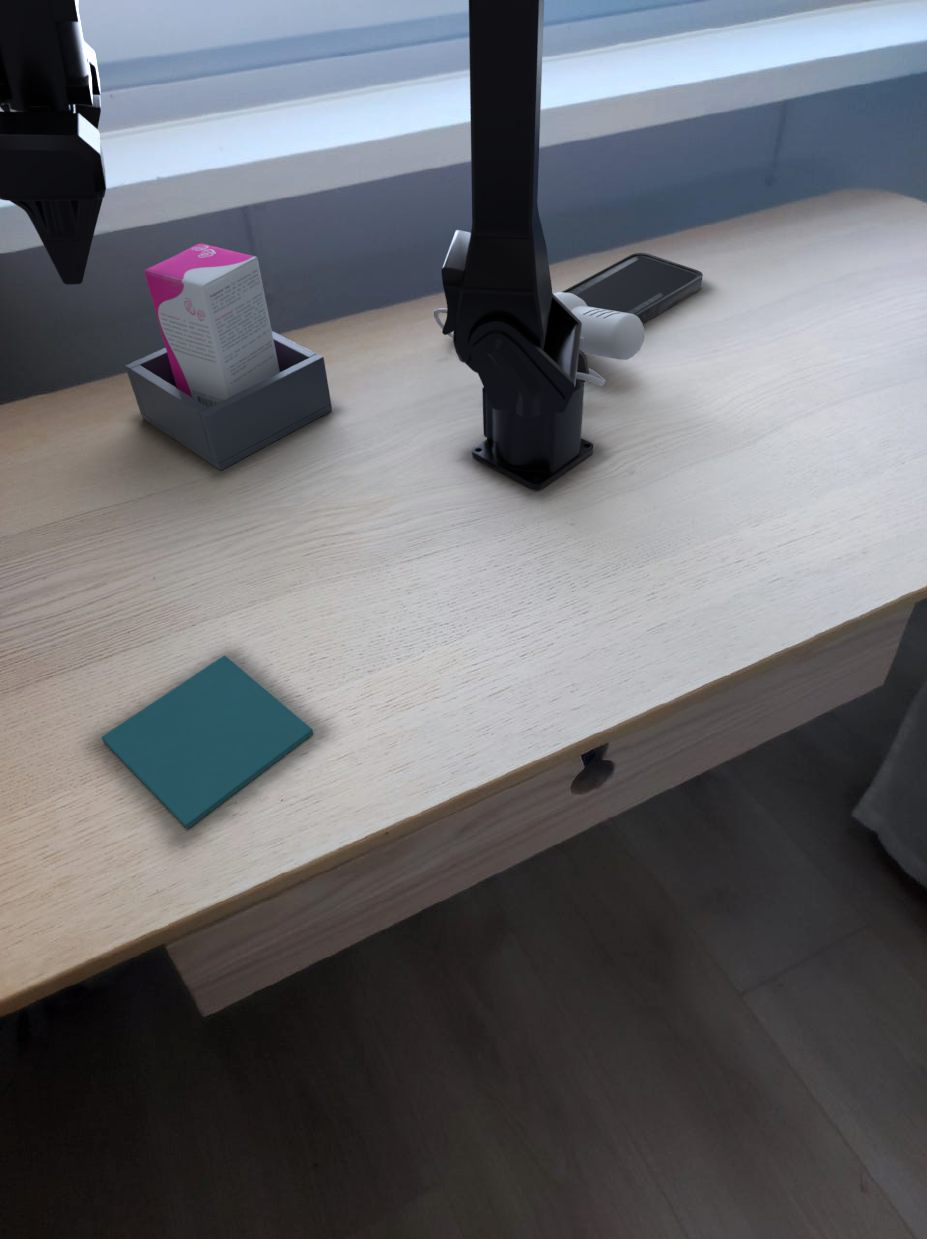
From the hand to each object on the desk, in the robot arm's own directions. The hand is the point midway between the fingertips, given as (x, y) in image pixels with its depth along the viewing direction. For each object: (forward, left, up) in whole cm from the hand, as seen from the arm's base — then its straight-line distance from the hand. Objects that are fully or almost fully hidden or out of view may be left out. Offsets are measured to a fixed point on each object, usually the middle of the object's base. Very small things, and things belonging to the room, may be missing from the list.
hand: (72, 249), depth 59 cm
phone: (-15, -41, -14) cm, 46 cm away
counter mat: (-29, +13, -14) cm, 35 cm away
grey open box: (-4, -7, -14) cm, 16 cm away
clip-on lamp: (-16, -27, -14) cm, 35 cm away
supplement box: (-4, -7, -14) cm, 16 cm away
